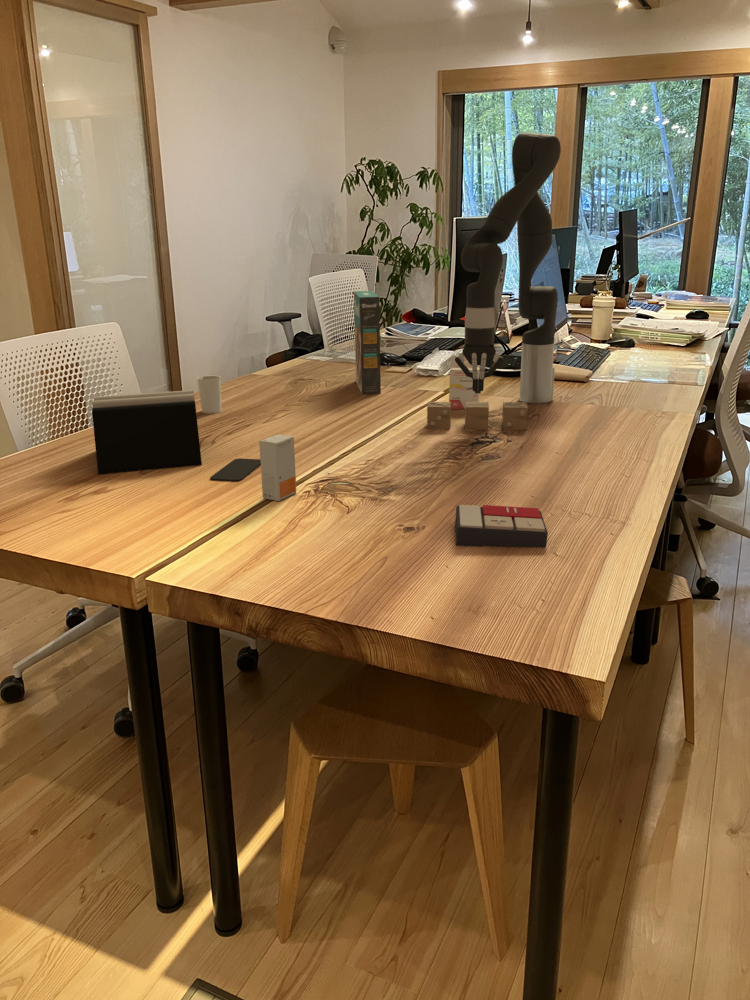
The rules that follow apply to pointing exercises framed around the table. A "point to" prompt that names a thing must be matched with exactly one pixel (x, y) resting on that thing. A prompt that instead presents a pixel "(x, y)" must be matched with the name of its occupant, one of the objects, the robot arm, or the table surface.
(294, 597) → the table surface
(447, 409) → the three pip cube
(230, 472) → the phone
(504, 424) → the two pip cube
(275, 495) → the skincare box
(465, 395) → the ink cartridge box
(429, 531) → the table surface
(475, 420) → the plain walnut cube
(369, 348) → the cake mix box
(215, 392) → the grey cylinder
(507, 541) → the button keypad
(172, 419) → the device stand
